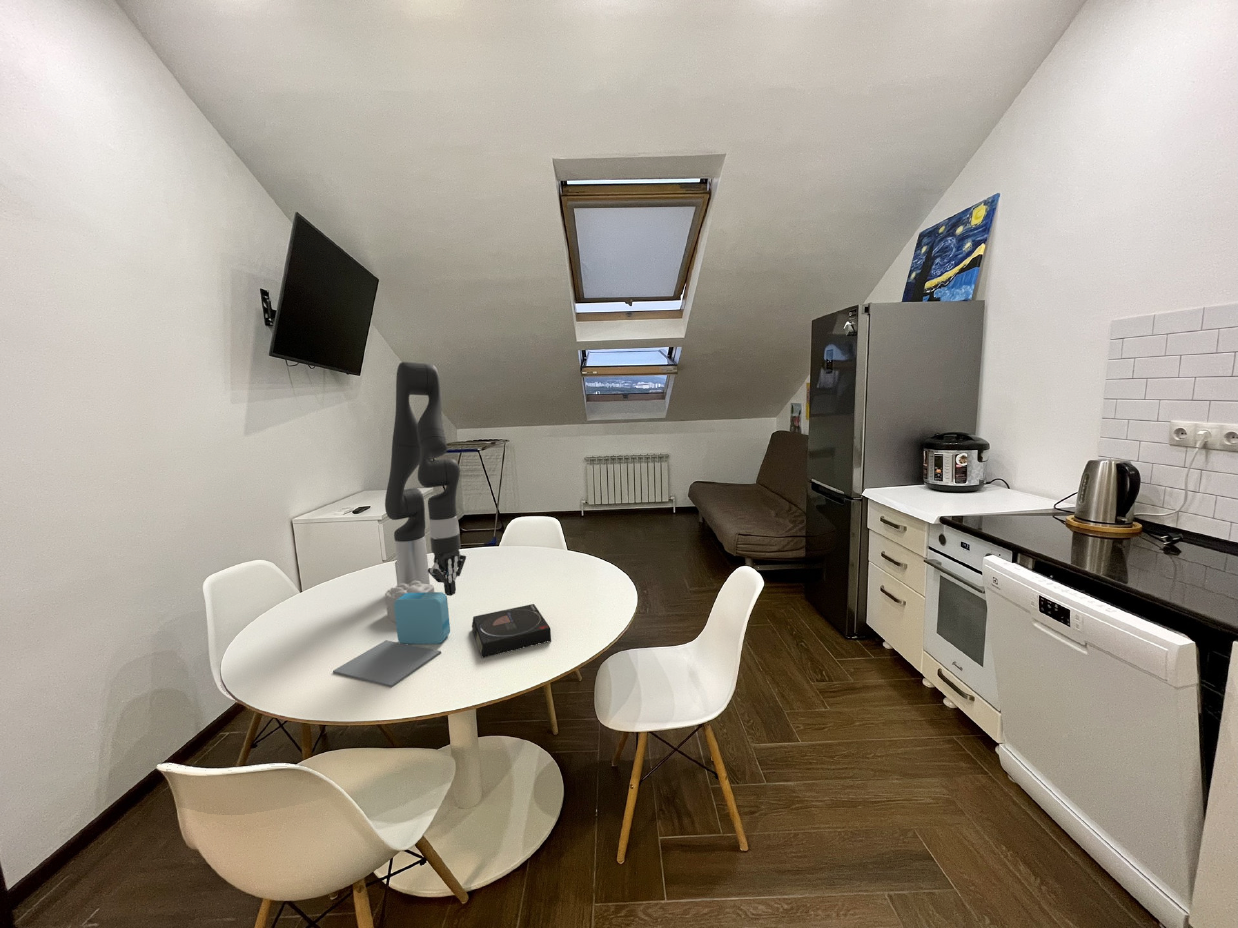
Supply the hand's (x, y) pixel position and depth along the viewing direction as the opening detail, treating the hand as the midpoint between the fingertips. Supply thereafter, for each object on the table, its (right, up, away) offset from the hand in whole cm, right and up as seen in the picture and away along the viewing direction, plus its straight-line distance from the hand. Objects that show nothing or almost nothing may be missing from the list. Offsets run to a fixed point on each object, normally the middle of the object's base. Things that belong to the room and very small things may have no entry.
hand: (450, 594), depth 135 cm
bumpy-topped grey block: (-14, -8, +8) cm, 18 cm away
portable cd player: (+18, -9, -8) cm, 22 cm away
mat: (-8, -11, -19) cm, 23 cm away
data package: (-4, -10, -8) cm, 13 cm away
